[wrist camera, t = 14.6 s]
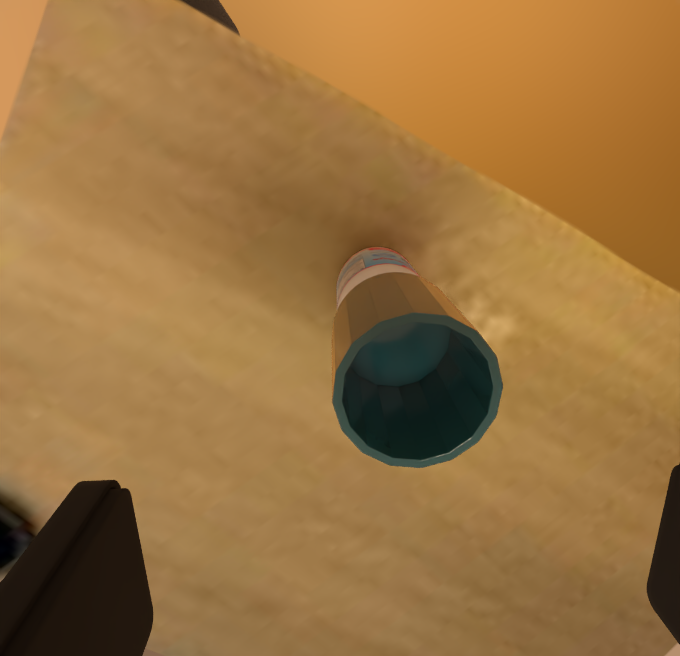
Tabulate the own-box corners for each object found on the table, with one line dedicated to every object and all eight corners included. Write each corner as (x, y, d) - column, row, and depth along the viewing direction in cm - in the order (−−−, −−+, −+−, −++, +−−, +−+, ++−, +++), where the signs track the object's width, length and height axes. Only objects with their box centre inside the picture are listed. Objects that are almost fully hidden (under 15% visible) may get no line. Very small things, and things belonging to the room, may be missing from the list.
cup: (311, 355, 28) (304, 426, 20) (370, 249, 26) (387, 282, 19) (414, 406, 29) (444, 491, 21) (477, 307, 27) (535, 362, 20)
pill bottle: (430, 277, 38) (469, 319, 27) (380, 337, 40) (399, 399, 29) (368, 228, 37) (384, 253, 26) (319, 292, 38) (316, 340, 28)
